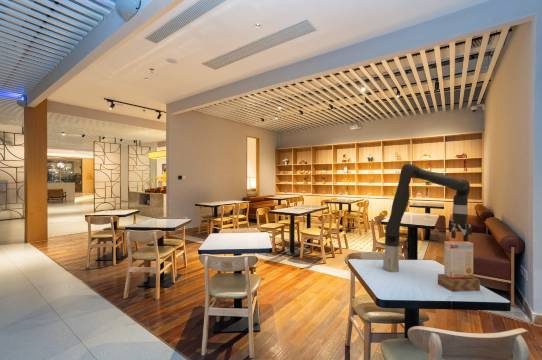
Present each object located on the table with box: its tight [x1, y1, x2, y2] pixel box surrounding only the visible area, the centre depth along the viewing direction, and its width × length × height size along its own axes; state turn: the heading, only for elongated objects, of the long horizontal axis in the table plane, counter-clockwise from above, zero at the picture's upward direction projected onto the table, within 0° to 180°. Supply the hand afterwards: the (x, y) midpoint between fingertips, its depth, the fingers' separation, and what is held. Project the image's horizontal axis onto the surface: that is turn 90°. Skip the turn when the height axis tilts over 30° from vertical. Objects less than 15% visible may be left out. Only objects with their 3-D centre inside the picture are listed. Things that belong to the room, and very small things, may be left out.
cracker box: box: [443, 240, 474, 278], centre depth 162 cm, size 14×6×21 cm, turn 92°
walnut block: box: [437, 273, 481, 292], centre depth 162 cm, size 18×11×6 cm, turn 98°
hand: (459, 239), depth 161 cm, fingers open, 8 cm apart
